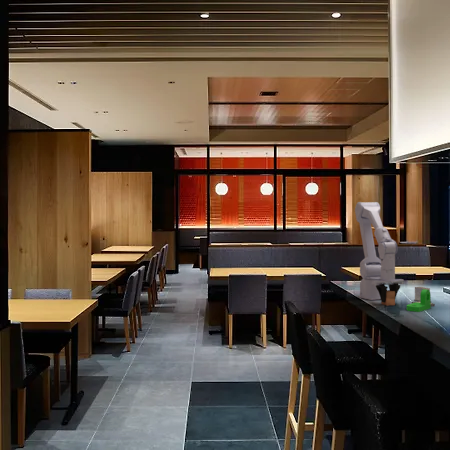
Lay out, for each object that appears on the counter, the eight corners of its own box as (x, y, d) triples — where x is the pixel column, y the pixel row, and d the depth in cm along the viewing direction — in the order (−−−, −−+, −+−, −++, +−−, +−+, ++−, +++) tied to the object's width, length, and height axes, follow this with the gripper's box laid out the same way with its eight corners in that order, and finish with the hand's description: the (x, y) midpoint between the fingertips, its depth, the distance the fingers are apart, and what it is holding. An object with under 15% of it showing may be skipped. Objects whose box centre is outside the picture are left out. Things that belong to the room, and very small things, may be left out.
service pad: (411, 304, 217) (411, 301, 217) (422, 303, 219) (422, 301, 219) (423, 306, 210) (423, 304, 210) (434, 306, 212) (434, 303, 212)
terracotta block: (381, 304, 217) (381, 290, 217) (389, 304, 219) (389, 290, 219) (387, 306, 213) (386, 291, 213) (395, 305, 215) (394, 291, 215)
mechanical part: (416, 307, 212) (416, 287, 212) (430, 308, 208) (430, 289, 208) (404, 310, 203) (403, 290, 203) (418, 312, 199) (418, 292, 199)
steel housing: (413, 301, 226) (413, 286, 226) (420, 300, 227) (420, 286, 227) (424, 303, 219) (424, 288, 219) (431, 303, 220) (431, 288, 220)
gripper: (379, 271, 210) (379, 304, 210) (408, 269, 215) (408, 302, 215) (369, 269, 217) (369, 301, 217) (397, 268, 221) (397, 299, 221)
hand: (388, 301), depth 216 cm, fingers closed on terracotta block, 4 cm apart
